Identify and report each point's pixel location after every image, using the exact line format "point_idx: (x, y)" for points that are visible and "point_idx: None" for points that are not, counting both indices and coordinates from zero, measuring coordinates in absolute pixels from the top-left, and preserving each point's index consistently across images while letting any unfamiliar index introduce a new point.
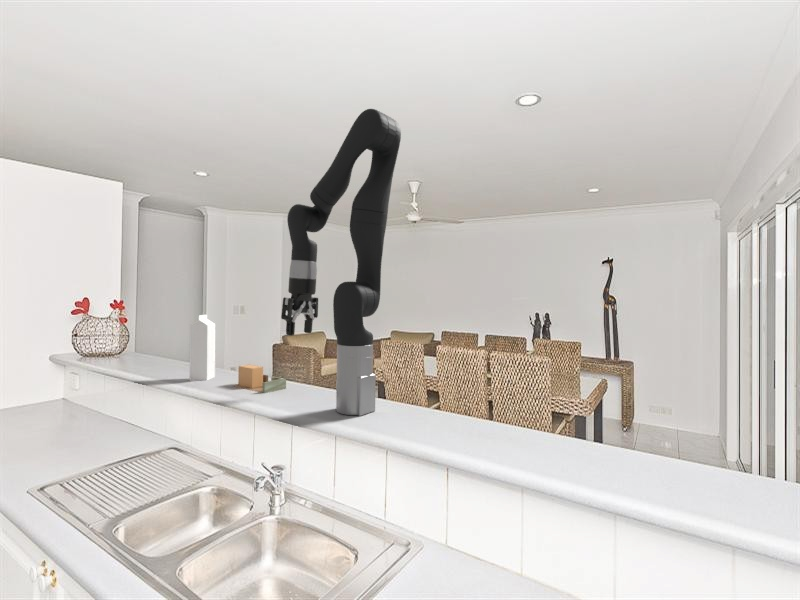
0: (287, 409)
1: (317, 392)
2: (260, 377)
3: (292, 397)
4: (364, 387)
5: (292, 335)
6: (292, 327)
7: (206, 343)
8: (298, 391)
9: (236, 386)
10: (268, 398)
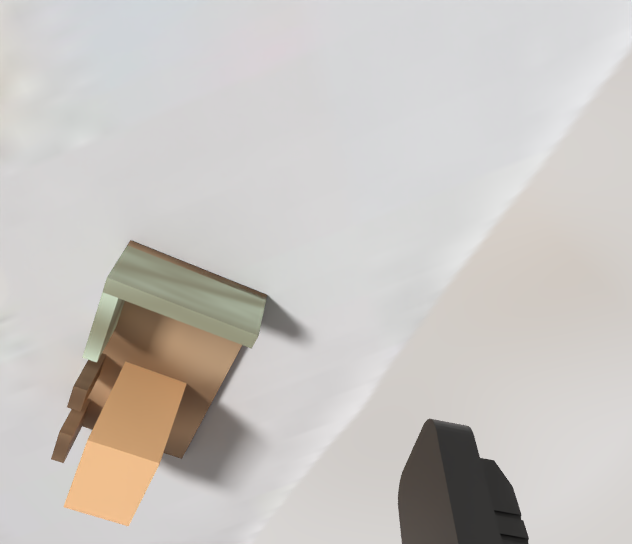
0: (566, 57)
1: (96, 36)
2: (125, 401)
3: (277, 142)
4: None
5: (445, 424)
6: (490, 540)
7: None
8: (126, 165)
9: (186, 441)
10: (332, 251)
